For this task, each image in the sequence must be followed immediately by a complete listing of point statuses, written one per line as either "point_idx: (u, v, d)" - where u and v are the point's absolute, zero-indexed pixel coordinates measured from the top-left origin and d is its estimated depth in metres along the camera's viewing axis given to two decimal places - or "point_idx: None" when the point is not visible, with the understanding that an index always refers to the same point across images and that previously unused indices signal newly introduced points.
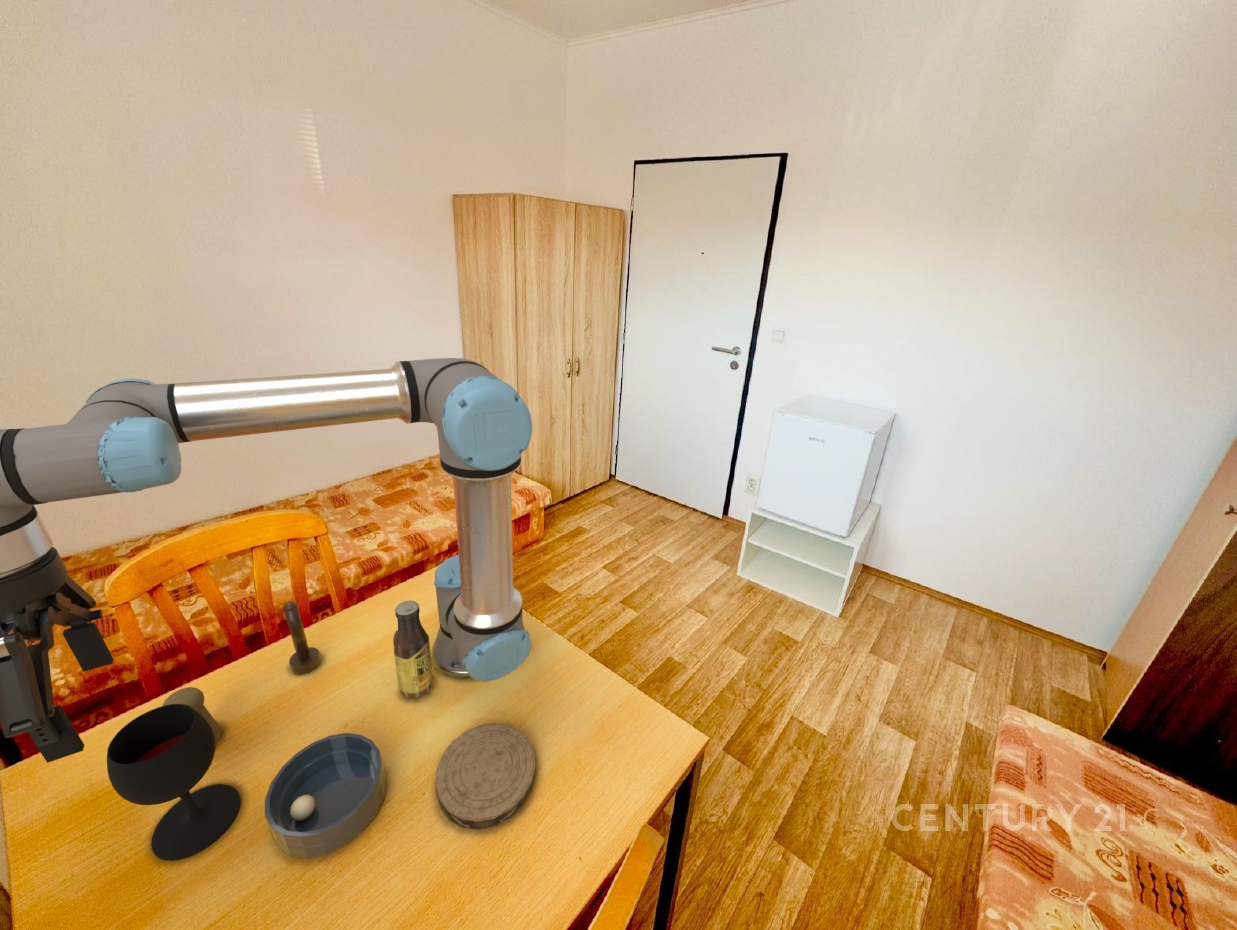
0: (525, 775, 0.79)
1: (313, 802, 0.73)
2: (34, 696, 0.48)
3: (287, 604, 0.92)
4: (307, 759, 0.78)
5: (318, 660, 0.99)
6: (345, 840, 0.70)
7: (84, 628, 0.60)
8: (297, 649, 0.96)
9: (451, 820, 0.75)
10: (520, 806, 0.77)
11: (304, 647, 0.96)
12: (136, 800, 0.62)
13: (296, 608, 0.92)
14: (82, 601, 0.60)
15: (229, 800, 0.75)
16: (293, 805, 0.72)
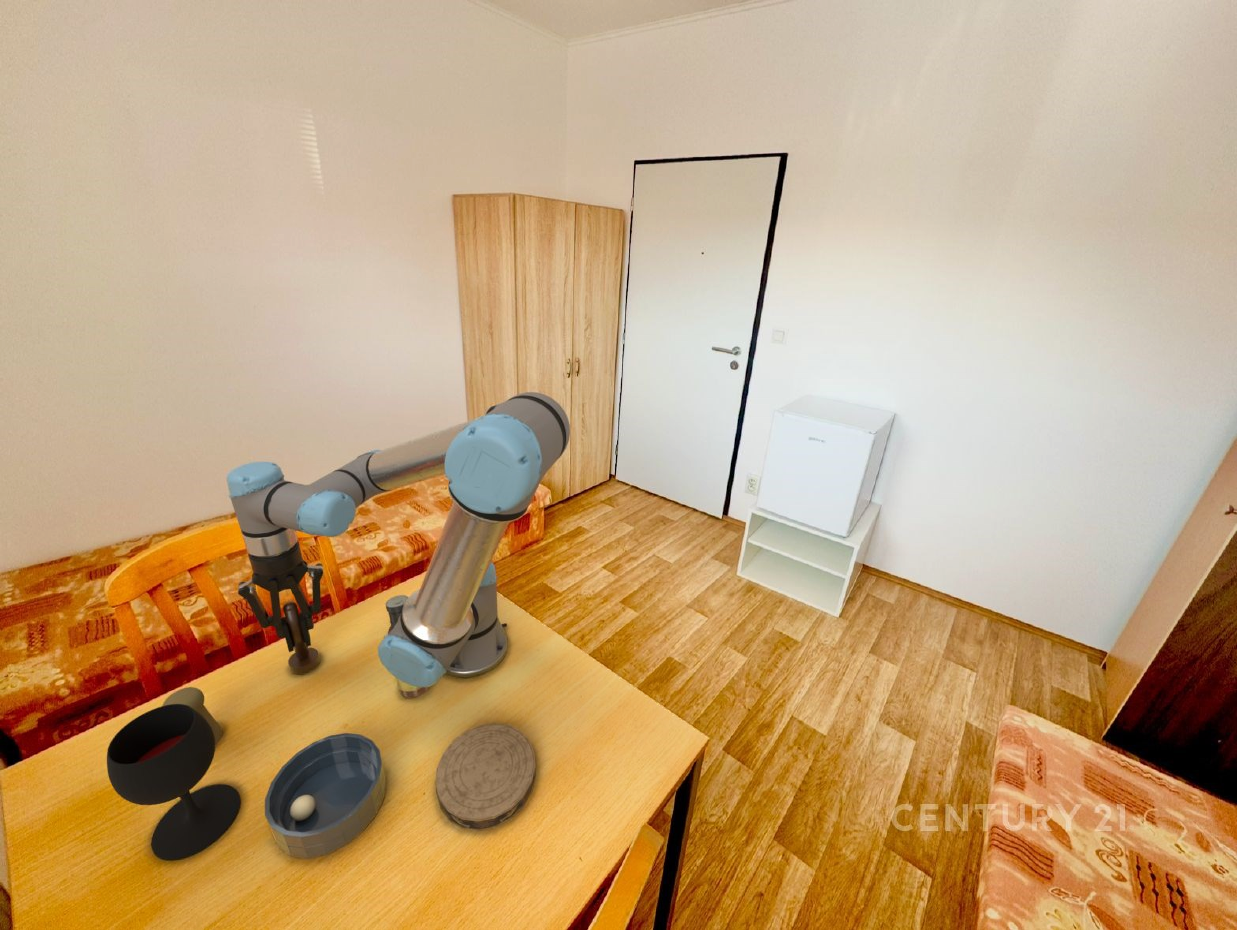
0: (525, 775, 0.79)
1: (313, 802, 0.73)
2: (257, 616, 0.88)
3: (287, 604, 0.91)
4: (307, 759, 0.78)
5: (318, 660, 0.99)
6: (345, 840, 0.70)
7: (300, 619, 0.94)
8: (296, 650, 0.95)
9: (451, 820, 0.75)
10: (520, 806, 0.77)
11: (303, 648, 0.96)
12: (136, 800, 0.62)
13: (296, 608, 0.92)
14: (313, 602, 0.93)
15: (229, 800, 0.75)
16: (293, 805, 0.72)
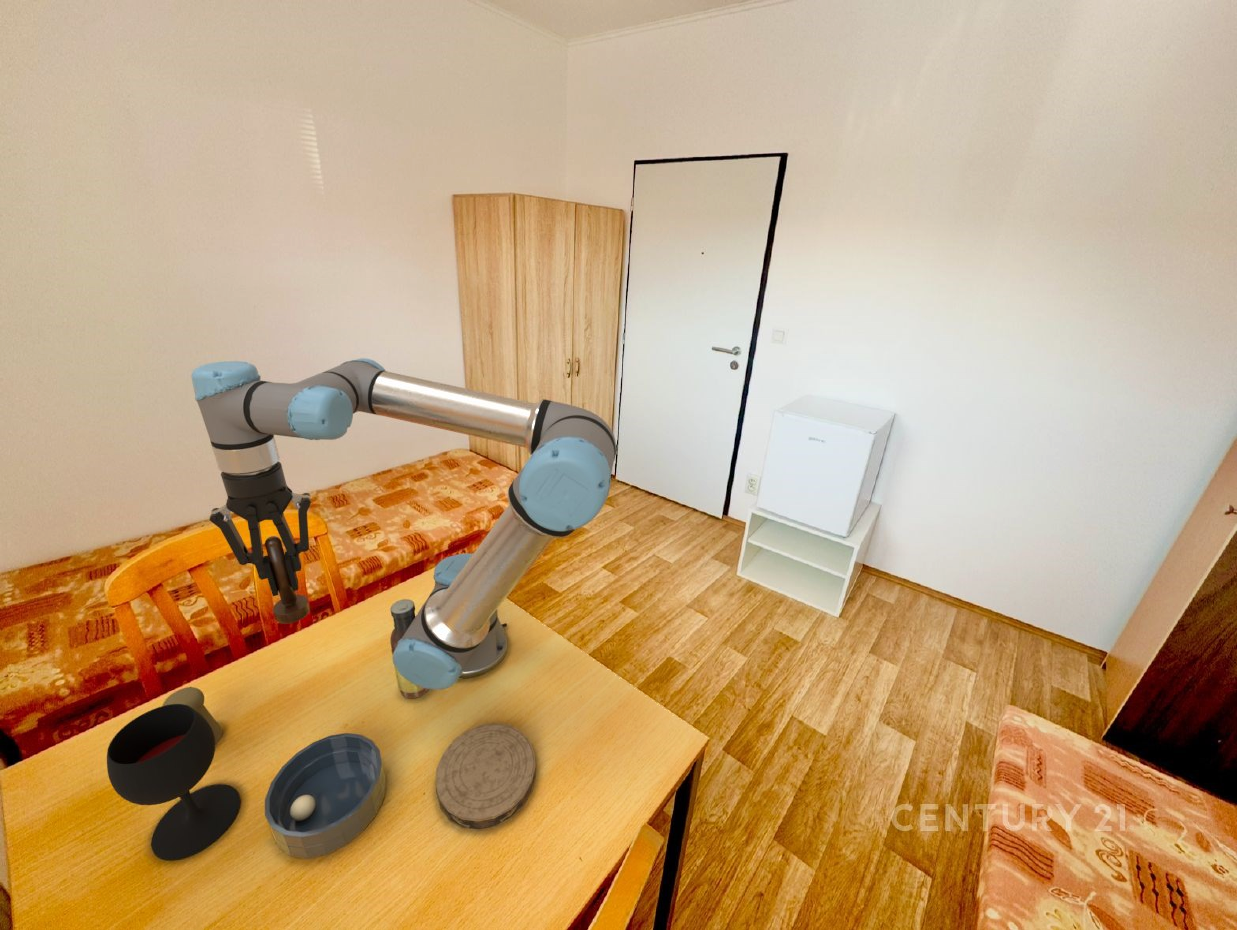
0: (525, 775, 0.79)
1: (313, 802, 0.73)
2: (233, 549, 0.76)
3: (269, 539, 0.79)
4: (307, 759, 0.78)
5: (307, 608, 0.86)
6: (345, 840, 0.70)
7: None
8: (281, 594, 0.83)
9: (451, 820, 0.75)
10: (520, 806, 0.77)
11: (289, 592, 0.83)
12: (136, 800, 0.62)
13: (279, 544, 0.80)
14: None
15: (229, 800, 0.75)
16: (293, 805, 0.72)
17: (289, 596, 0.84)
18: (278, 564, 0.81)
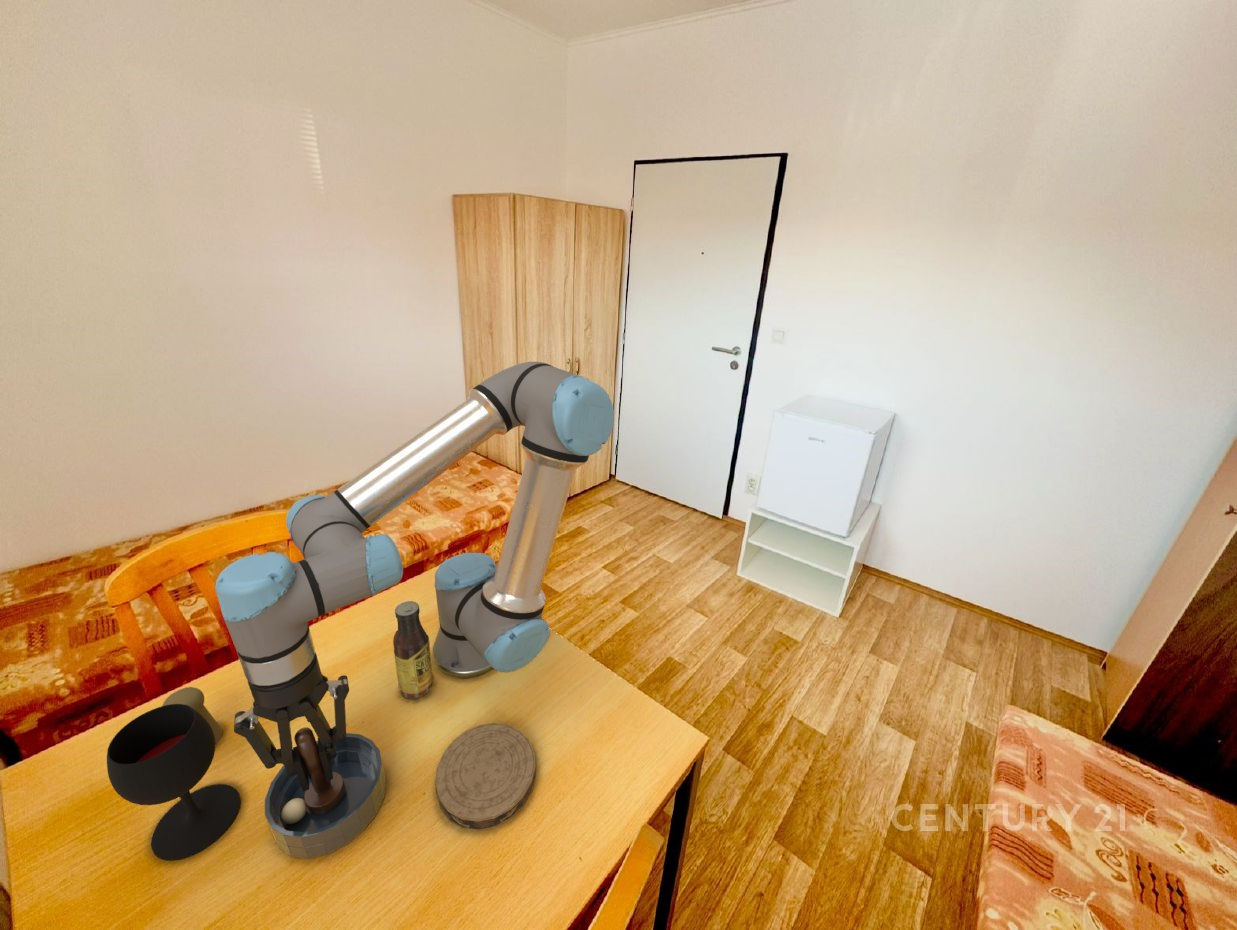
0: (525, 775, 0.79)
1: (298, 804, 0.72)
2: (260, 755, 0.65)
3: (299, 734, 0.68)
4: None
5: (341, 794, 0.75)
6: (345, 840, 0.70)
7: None
8: (313, 784, 0.72)
9: (451, 820, 0.75)
10: (520, 806, 0.77)
11: (321, 782, 0.72)
12: (136, 800, 0.62)
13: (310, 738, 0.69)
14: (336, 726, 0.70)
15: (229, 800, 0.75)
16: (281, 813, 0.72)
17: (321, 785, 0.73)
18: (309, 758, 0.69)
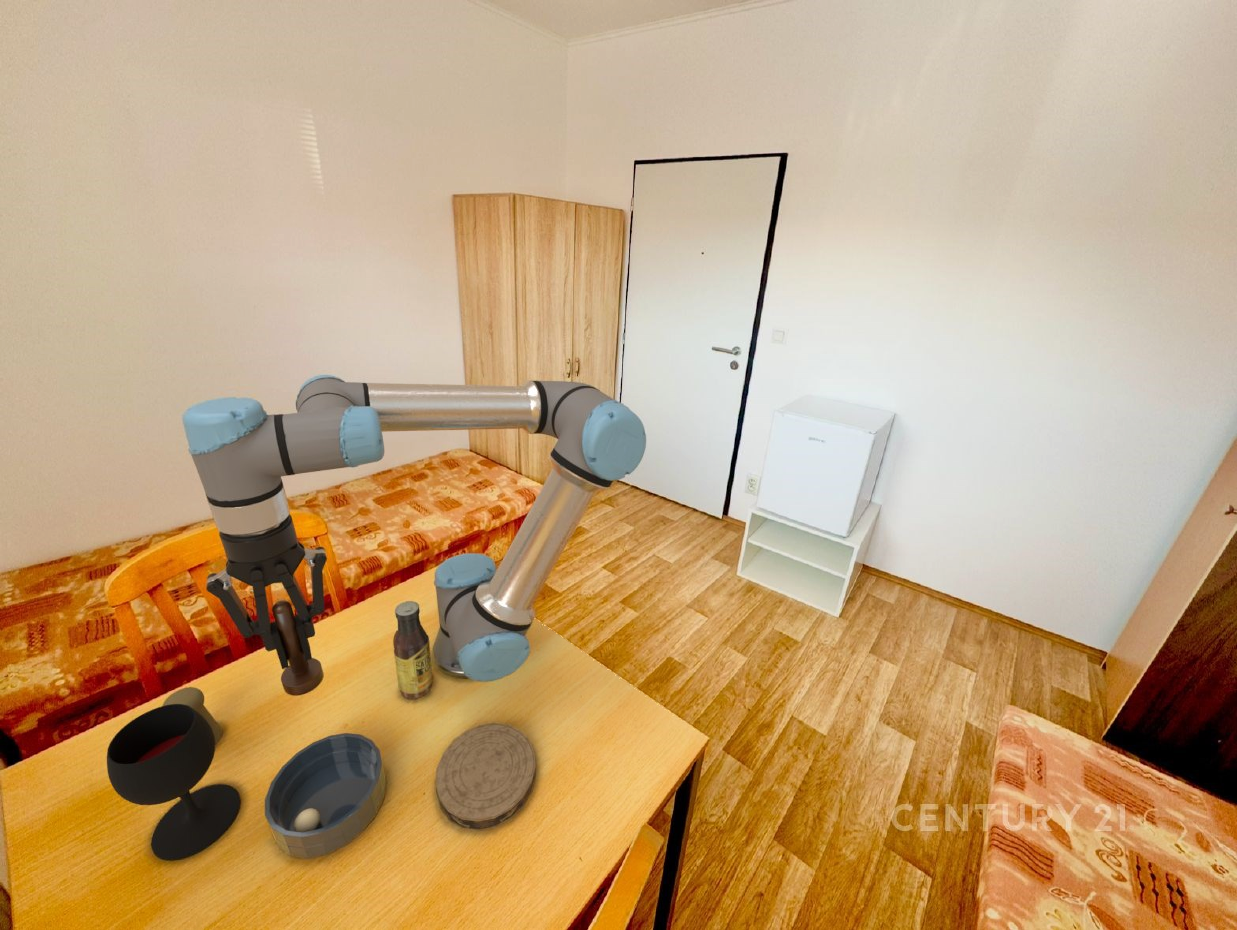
0: (525, 775, 0.79)
1: (314, 829, 0.71)
2: (235, 621, 0.63)
3: (276, 604, 0.66)
4: (307, 759, 0.78)
5: (317, 680, 0.73)
6: (345, 840, 0.70)
7: (296, 624, 0.68)
8: (289, 663, 0.71)
9: (451, 820, 0.75)
10: (520, 806, 0.77)
11: (298, 662, 0.71)
12: (136, 800, 0.62)
13: (287, 612, 0.67)
14: (313, 599, 0.68)
15: (229, 800, 0.75)
16: (299, 821, 0.70)
17: (297, 666, 0.71)
18: (285, 633, 0.68)
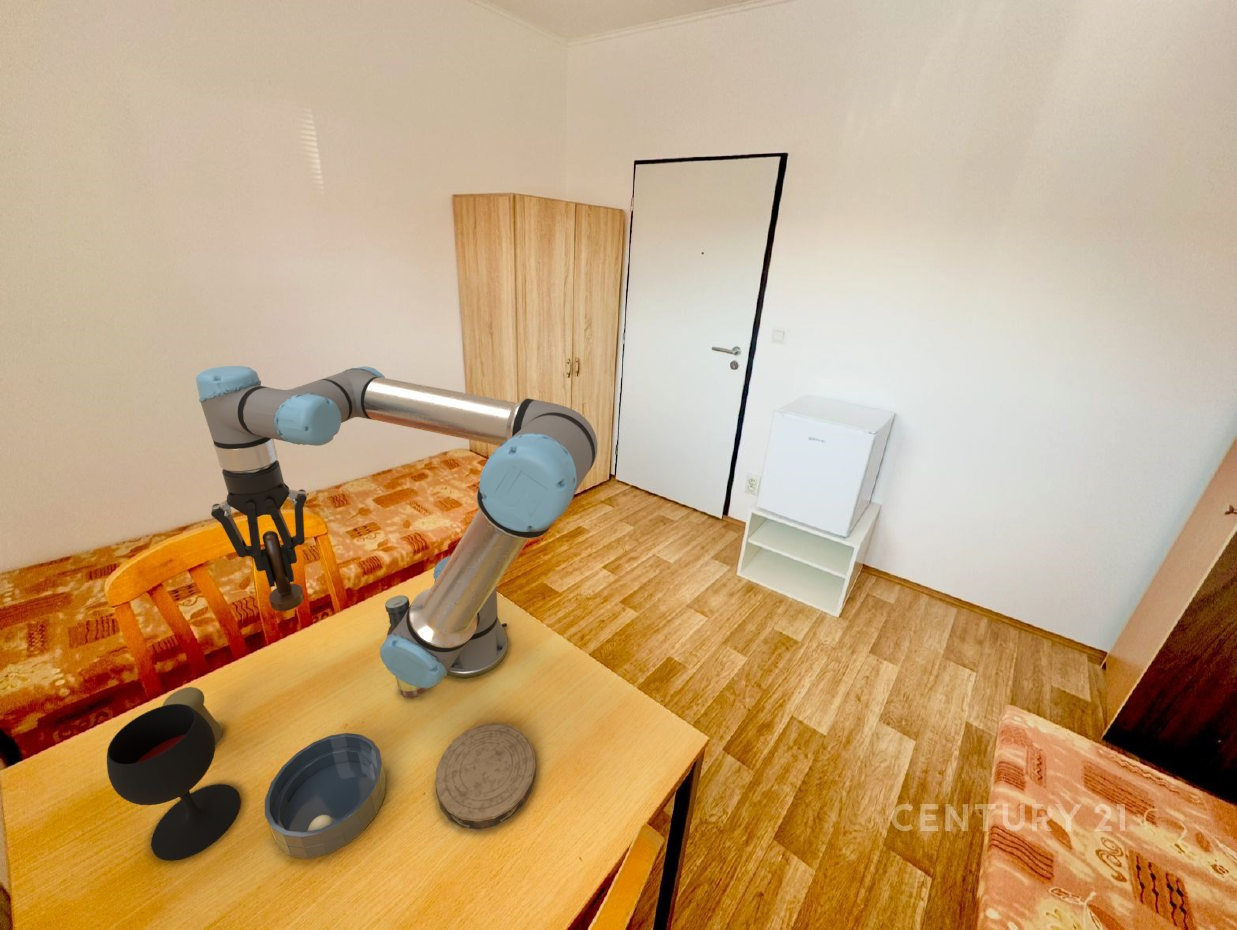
0: (525, 775, 0.79)
1: None
2: (233, 542, 0.80)
3: (266, 533, 0.84)
4: (307, 759, 0.78)
5: (298, 600, 0.90)
6: (345, 840, 0.70)
7: (281, 551, 0.86)
8: (276, 583, 0.88)
9: (451, 820, 0.75)
10: (520, 806, 0.77)
11: (282, 583, 0.88)
12: (136, 800, 0.62)
13: (274, 539, 0.84)
14: None
15: (229, 800, 0.75)
16: None
17: (282, 586, 0.88)
18: (272, 557, 0.85)
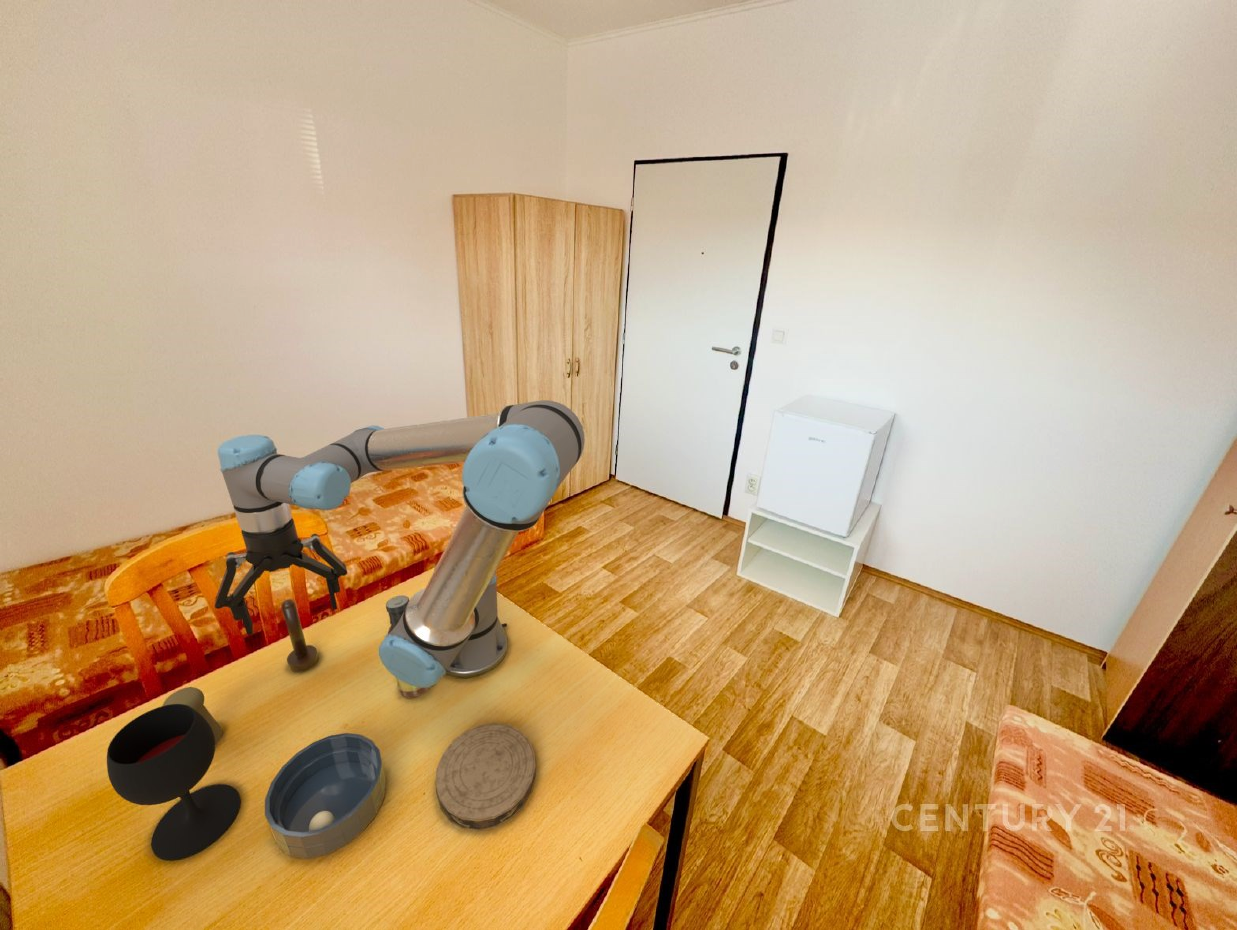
0: (525, 775, 0.79)
1: None
2: (221, 592, 0.83)
3: (284, 602, 0.92)
4: (307, 759, 0.78)
5: (313, 661, 0.98)
6: (345, 840, 0.70)
7: (326, 581, 0.93)
8: (293, 647, 0.96)
9: (451, 820, 0.75)
10: (520, 806, 0.77)
11: (299, 646, 0.96)
12: (136, 800, 0.62)
13: (292, 607, 0.92)
14: (333, 567, 0.92)
15: (229, 800, 0.75)
16: None
17: (299, 649, 0.96)
18: (290, 623, 0.93)
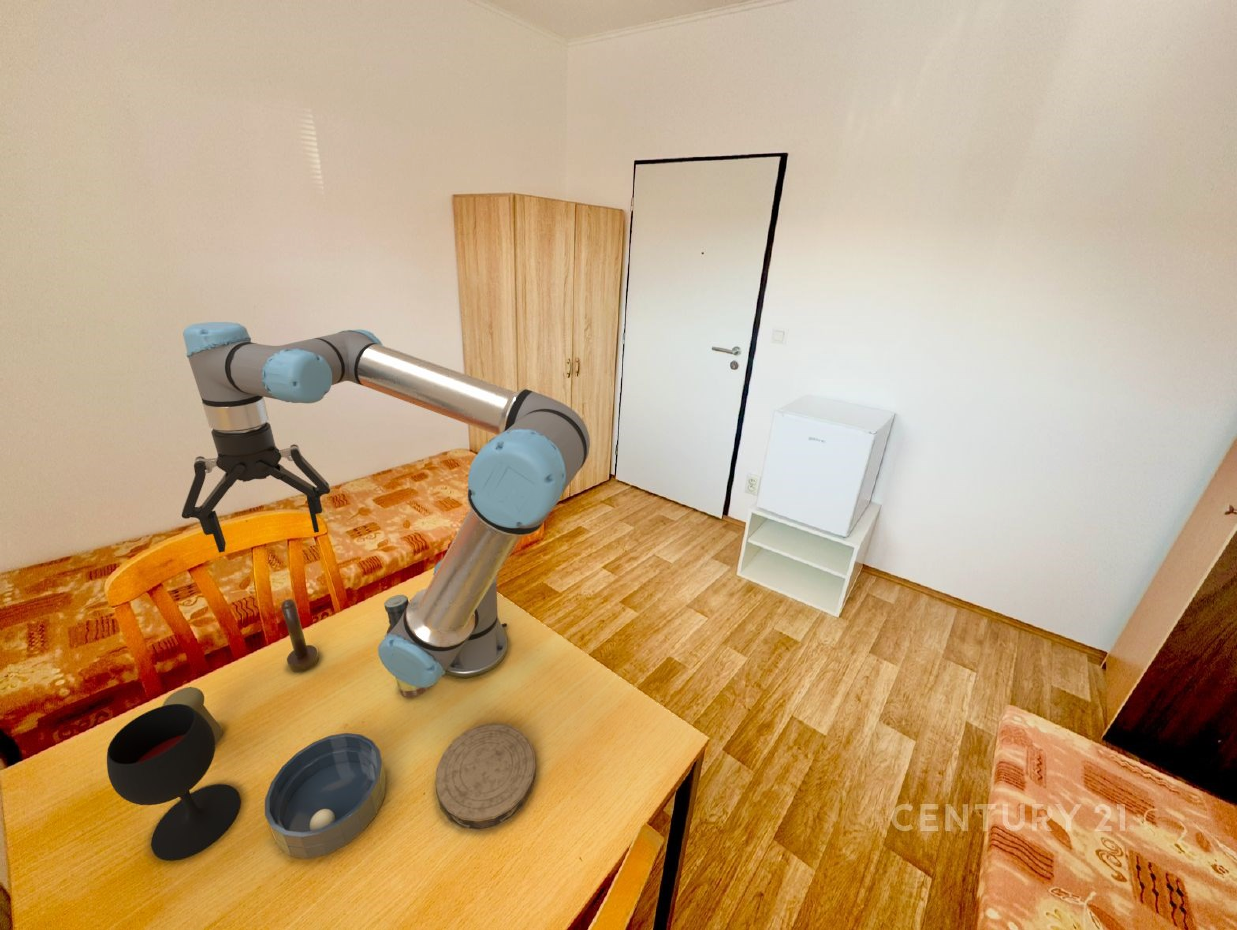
0: (525, 775, 0.79)
1: None
2: (188, 500, 0.75)
3: (284, 602, 0.92)
4: (307, 759, 0.78)
5: (313, 661, 0.98)
6: (345, 840, 0.70)
7: (307, 499, 0.85)
8: (293, 647, 0.96)
9: (451, 820, 0.75)
10: (520, 806, 0.77)
11: (299, 646, 0.96)
12: (136, 800, 0.62)
13: (292, 607, 0.92)
14: (315, 484, 0.85)
15: (229, 800, 0.75)
16: (324, 826, 0.70)
17: (299, 649, 0.96)
18: (290, 623, 0.93)
